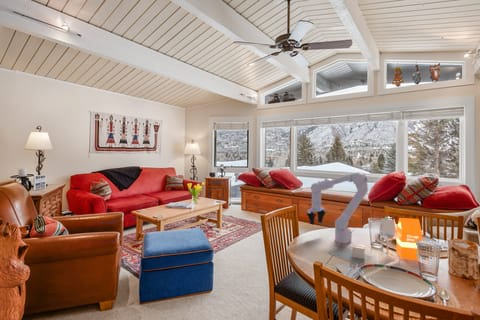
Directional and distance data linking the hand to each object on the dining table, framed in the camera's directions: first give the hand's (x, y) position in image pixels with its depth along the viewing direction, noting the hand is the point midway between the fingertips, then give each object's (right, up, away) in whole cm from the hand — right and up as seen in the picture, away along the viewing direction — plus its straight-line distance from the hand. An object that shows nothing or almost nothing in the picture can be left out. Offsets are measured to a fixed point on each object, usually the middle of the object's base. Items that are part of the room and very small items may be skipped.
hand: (316, 223), depth 151 cm
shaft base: (+8, -10, -28) cm, 31 cm away
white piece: (+12, -9, -29) cm, 33 cm away
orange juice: (+40, -11, -27) cm, 49 cm away
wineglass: (+29, -10, -26) cm, 40 cm away
